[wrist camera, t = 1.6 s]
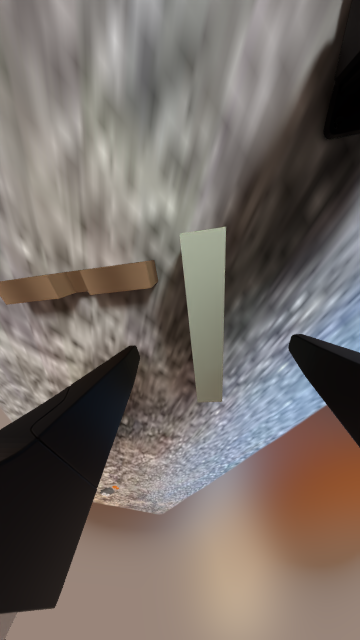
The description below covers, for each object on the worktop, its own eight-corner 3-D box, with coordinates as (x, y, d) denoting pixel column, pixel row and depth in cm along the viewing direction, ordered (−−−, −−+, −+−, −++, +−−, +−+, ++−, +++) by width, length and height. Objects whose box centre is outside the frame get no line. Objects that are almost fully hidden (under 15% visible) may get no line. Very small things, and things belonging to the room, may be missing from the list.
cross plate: (183, 243, 12) (179, 233, 6) (206, 240, 12) (225, 226, 6) (194, 348, 17) (197, 402, 11) (209, 347, 17) (222, 401, 11)
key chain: (110, 490, 49) (108, 497, 48) (101, 488, 48) (98, 494, 47) (128, 483, 44) (126, 490, 43) (118, 480, 43) (115, 487, 42)
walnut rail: (154, 260, 13) (145, 261, 10) (158, 281, 14) (150, 287, 11) (27, 277, 14) (-10, 282, 12) (38, 295, 15) (6, 304, 13)
